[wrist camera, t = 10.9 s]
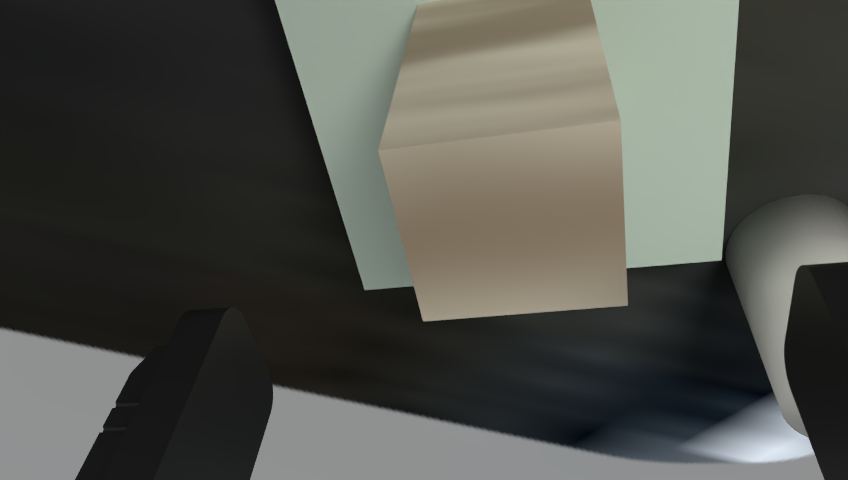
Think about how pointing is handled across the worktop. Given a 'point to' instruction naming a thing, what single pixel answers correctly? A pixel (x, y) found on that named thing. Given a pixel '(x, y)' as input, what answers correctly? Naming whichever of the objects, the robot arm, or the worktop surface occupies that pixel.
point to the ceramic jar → (782, 273)
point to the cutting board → (634, 92)
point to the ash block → (507, 160)
